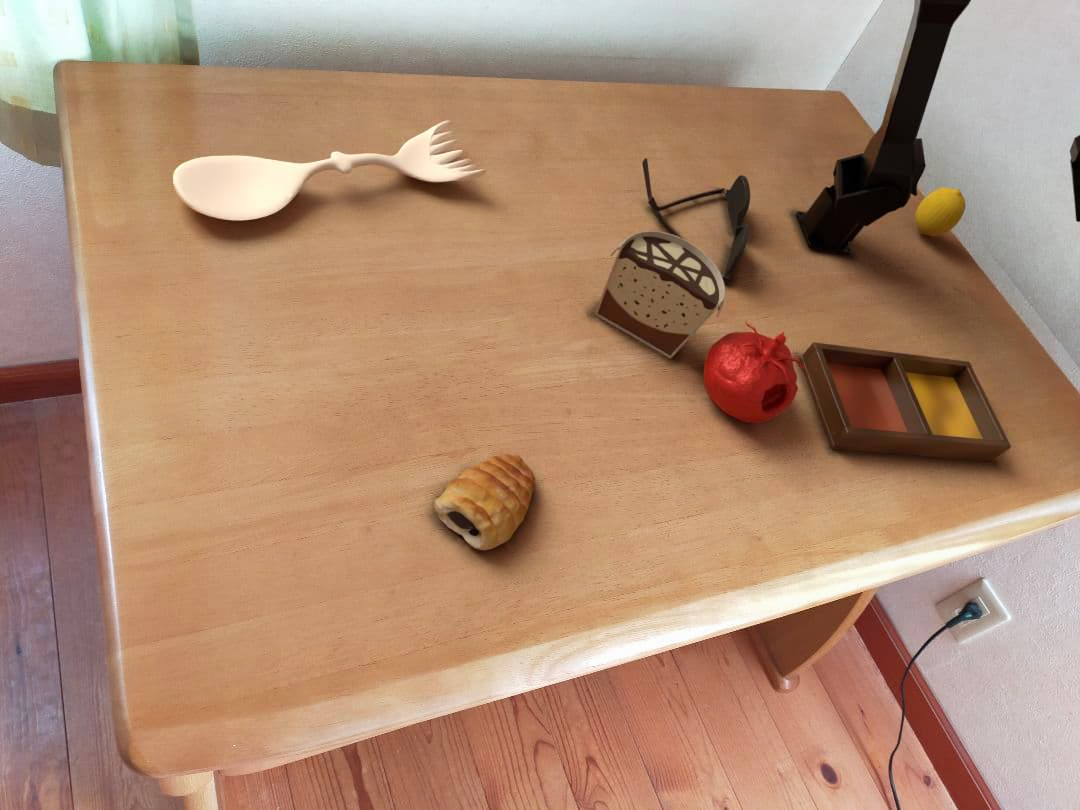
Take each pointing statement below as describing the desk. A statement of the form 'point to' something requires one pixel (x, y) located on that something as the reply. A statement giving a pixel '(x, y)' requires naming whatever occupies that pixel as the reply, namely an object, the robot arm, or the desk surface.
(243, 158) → the spoon
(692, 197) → the sunglasses
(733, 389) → the pomegranate
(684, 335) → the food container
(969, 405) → the sorting tray
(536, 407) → the desk surface
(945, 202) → the lemon
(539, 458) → the desk surface
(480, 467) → the pastry
